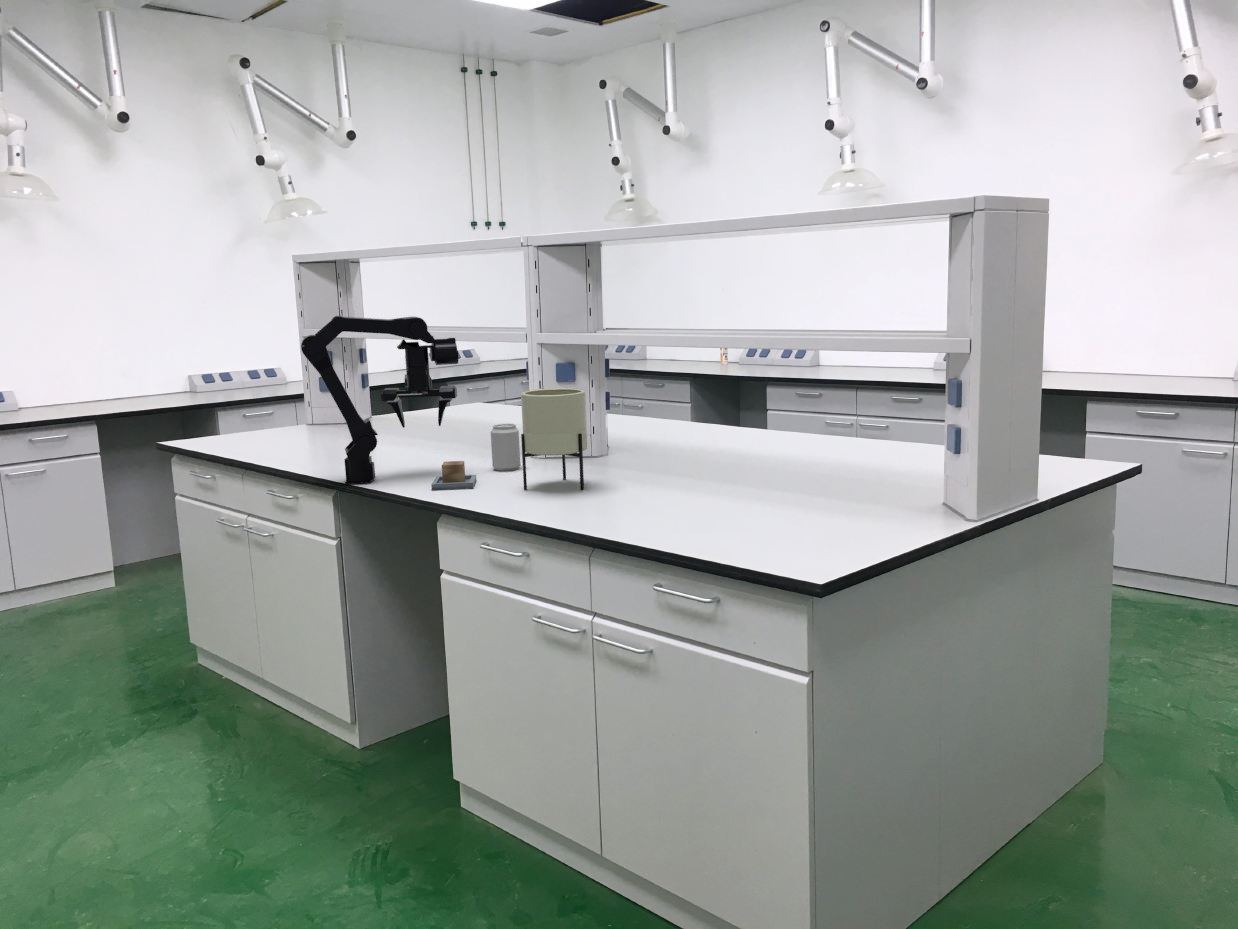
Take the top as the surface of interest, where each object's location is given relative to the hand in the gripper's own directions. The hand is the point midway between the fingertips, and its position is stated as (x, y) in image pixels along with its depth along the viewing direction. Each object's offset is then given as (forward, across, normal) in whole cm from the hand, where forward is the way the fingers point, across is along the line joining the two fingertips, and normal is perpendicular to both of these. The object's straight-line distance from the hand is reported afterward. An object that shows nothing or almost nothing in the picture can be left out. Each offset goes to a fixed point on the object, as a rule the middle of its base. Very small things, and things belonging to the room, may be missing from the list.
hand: (421, 426), depth 252 cm
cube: (+12, -9, +14) cm, 21 cm away
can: (+13, -21, -5) cm, 25 cm away
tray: (+13, -9, +14) cm, 21 cm away
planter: (+13, -34, +21) cm, 42 cm away
